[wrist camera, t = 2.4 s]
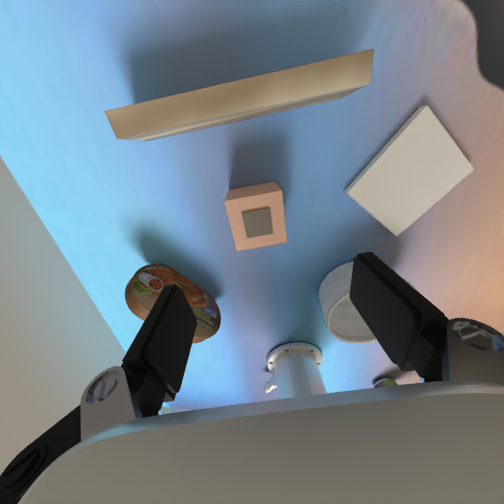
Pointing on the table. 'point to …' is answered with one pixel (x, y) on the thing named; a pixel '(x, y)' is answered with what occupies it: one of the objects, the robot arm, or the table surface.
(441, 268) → the table surface
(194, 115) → the wooden plank
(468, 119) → the table surface
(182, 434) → the robot arm
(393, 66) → the table surface
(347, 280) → the ramekin
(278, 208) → the marked cube
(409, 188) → the display tile
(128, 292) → the tin
